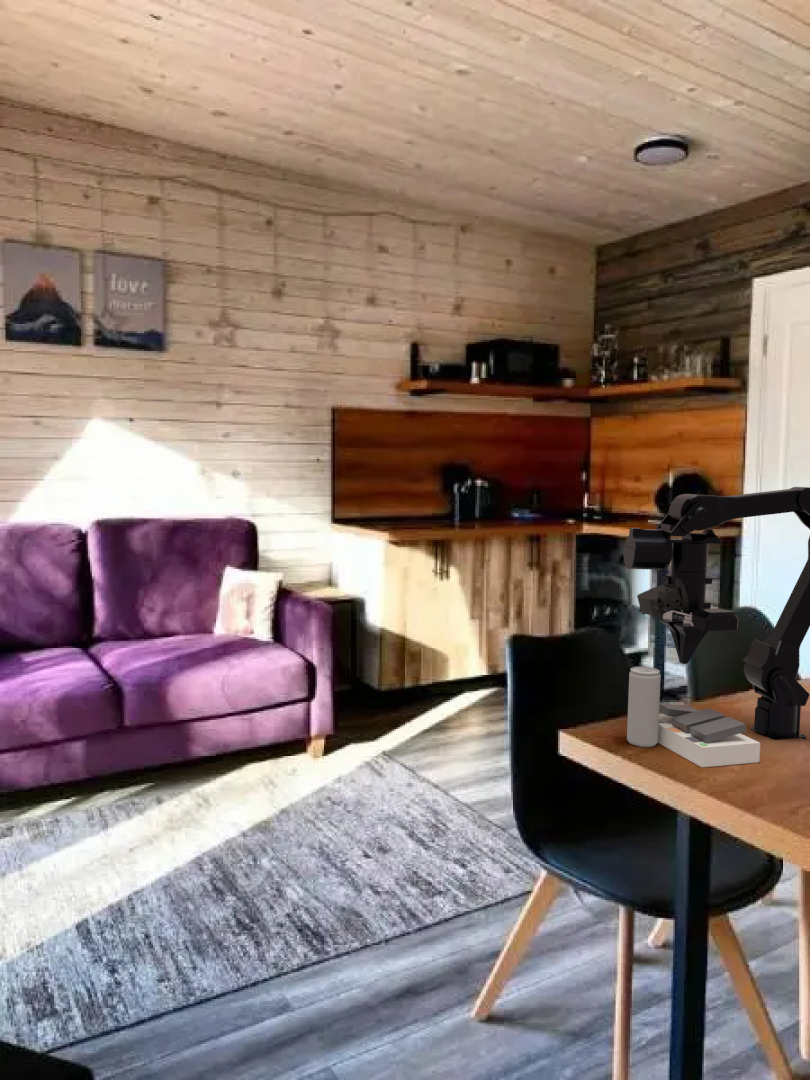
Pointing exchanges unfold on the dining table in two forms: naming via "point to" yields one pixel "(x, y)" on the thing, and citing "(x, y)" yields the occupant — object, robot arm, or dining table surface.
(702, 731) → the block
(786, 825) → the dining table surface
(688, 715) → the block
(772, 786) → the dining table surface
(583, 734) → the dining table surface
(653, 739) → the beverage can
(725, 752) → the rocker switch panel
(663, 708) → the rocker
